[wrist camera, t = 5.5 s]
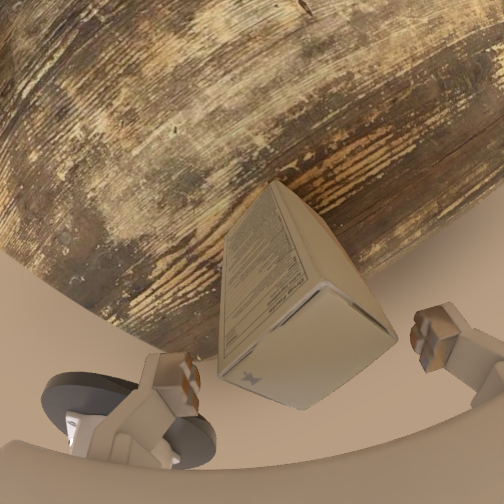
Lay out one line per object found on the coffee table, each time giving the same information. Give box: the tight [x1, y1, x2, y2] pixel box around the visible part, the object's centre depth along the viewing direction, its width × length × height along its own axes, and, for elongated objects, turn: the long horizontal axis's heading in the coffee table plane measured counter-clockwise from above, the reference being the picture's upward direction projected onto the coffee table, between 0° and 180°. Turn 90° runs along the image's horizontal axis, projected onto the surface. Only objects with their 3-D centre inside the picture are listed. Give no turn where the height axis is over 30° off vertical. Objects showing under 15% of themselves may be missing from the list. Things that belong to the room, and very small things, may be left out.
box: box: [218, 179, 398, 410], centre depth 14 cm, size 5×4×11 cm
